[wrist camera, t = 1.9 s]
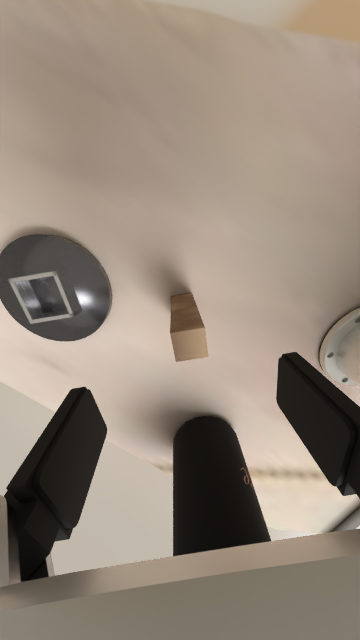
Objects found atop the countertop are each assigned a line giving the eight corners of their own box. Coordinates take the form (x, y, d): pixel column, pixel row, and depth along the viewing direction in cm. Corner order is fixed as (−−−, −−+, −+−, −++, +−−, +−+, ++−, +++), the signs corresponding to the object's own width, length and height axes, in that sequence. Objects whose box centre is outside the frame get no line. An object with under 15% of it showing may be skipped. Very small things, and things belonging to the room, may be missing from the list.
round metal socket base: (92, 225, 20) (78, 223, 17) (123, 328, 24) (117, 340, 21) (-18, 245, 20) (-51, 245, 17) (33, 343, 25) (14, 357, 22)
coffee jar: (224, 458, 35) (271, 655, 18) (167, 453, 34) (162, 657, 17) (243, 417, 31) (324, 620, 14) (179, 409, 30) (188, 619, 13)
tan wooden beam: (191, 292, 23) (204, 327, 14) (194, 312, 24) (208, 356, 14) (171, 296, 23) (170, 333, 14) (174, 315, 24) (175, 361, 15)
